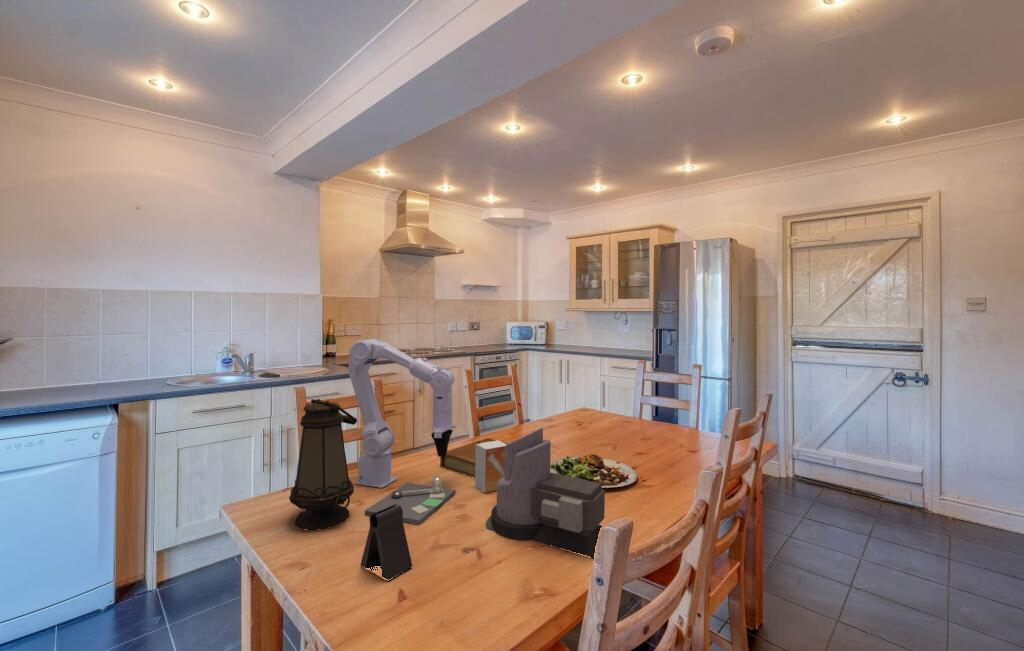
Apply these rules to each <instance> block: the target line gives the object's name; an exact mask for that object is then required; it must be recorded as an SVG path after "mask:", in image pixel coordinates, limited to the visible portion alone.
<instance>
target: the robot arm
mask: <svg viewBox="0 0 1024 651" xmlns="http://www.w3.org/2000/svg"><path fill="white" fill-rule="evenodd" d="M348 353H349V360H348V361H349V362H348V368H347V369H348V370H347V371H348V374H349V378H350V381H351V384H352V388H353V390H354V391H353V392H354V394H355V398H356V402H357V404H358V408H359V412H360V414H361V418H362V421H363V424H364V427H363V429H362V433H361V436H362V450H363V452H362V453H361V454H360V456H359V458H358V461H357V481H356V482H355V484H356V485H362V486H367V487H373V488H379V489H382V488H385V487H386V486H388V485H390V484H392V483H393V482H394V481H397V480H398V477H396V476H392V450H391V449H392V446H393V445H394V443H395V437H396V436H395V435H394V433H393V431H392V429H391V428H390V426H389V424H388V422H386V421H385V420H384V419H383V417H382V414H381V410H380V407H379V403H378V400H377V397H376V394H375V391H374V387H373V384H372V381H371V376H370V373H369V370H370V369H371V367H372V365H373V364H374V362H376V361H377V360H379V359H387V360H389V361H391V362H393V363H395V364H397V365H400V366H402V367H404V368H406V369H408V371H409V374H410V375H411V376H413V377H415V378H417V379H419V380H420V381H423V382H424V383H427V384H428V385H429V386H430V388H431V389H432V424H431V429H432V430H433V432H431V438H432V439H433V442H434V444H435V448H436V449H435V450H436V453H437V457H439V458H440V457H445V455H446V453H447V451H448V449H449V448H448V447H449V443H450V439H451V437H452V434H453V429H456V427H457V424H456V423H455V424H453V385H454V382H455V376H454V373H453V372H452V371H451V370H450V369H448V368H442V366H441V365H435V364H433V363H431V362H429V360H428V358H426V357H417V358H413V357H411V356H410V355H408V354H406V353H404V352H403V351H401V350H399V349H398V348H396V347H394V346H392V345H390V344H389V343H387V341H384V340H383V341H382V340H380V339H378V338H370V339H358V340H356V341H355V342H354V343H353V344H352V346H351V348H349V349H348Z"/></svg>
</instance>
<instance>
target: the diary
mask: <svg viewBox="0 0 1024 651" xmlns="http://www.w3.org/2000/svg"><path fill="white" fill-rule="evenodd" d="M492 441H497V439H492V438H489V437H488V438H484V439H482V440H479V441H475V442H474V441H473V442H471V443H469V444H465V445H462V446H459V447H456V448H453V449H449V450H447V453H446V455H445V457H439V458H440V459H439V460H440V464H439V465H440V466H439V467H440V468H442V467H443V468H442V469H445V468H446V469H445V470H448V469H449V470H448V471H451V470H452V471H451V472H453V471H455V472H454V473H456V472H459V473H462V474H465V475H467V476H466V477H468V476H471V477H474V478H475V457H476V444H480V443H485V442H492ZM502 442H503V443H505V444H509V442H505V441H502ZM459 473H458V474H459ZM462 474H461V475H462ZM465 475H464V476H465ZM471 477H470V478H471ZM474 478H473V479H474Z"/></svg>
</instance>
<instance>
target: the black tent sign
mask: <svg viewBox="0 0 1024 651" xmlns="http://www.w3.org/2000/svg"><path fill="white" fill-rule="evenodd" d="M396 505H397V504H395V505H392V506H390V507H388V508H385V509H383V510H380V511H378V512H376V513H373V514H371V515H370V516H369V529H368V534H367V537H366V541H365V545H364V549H363V554H362V558H361V562H360V567H361V566H363V567H365V568H370V569H371V567H372V569H373V567H374V566H381V567H380V568H381V569H382V577H384V578H386V579H388V580H389V579H391V578H392V577H395V576H396V575H398V574H400V573H402V572H404V571H406V570H407V569H409V568H411V567H412V568H413V563H412V558H411V554H410V549H409V544H408V539H407V535H406V530H405V525H404V522H403V518H402V517H403V510H402V508H401V506H400V505H398V506H396ZM395 506H396V507H395ZM374 568H375V567H374ZM376 568H377V567H376ZM412 568H411V569H412ZM372 569H371V571H372ZM373 570H374V569H373ZM375 570H376V569H375ZM377 570H378V569H377ZM409 570H410V569H409ZM407 571H408V570H407ZM407 571H406V572H407ZM404 573H405V572H404ZM402 574H403V573H402ZM395 578H396V577H395Z"/></svg>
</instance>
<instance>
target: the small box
mask: <svg viewBox="0 0 1024 651" xmlns="http://www.w3.org/2000/svg"><path fill="white" fill-rule="evenodd" d="M496 440H497V439H496ZM503 442H504V441H501V440H497V441H492V442H485V443H480V444H476V457H475V480H474V485H475V488H476V489H478V490H480V491H481V492H482V493H484V494H487V493H491V492H494V491H495V492H497V482H498V481H499V480H500V479H501V478H503V477H504V458H505V445H507V444H505V443H506V442H505V443H503Z"/></svg>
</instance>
